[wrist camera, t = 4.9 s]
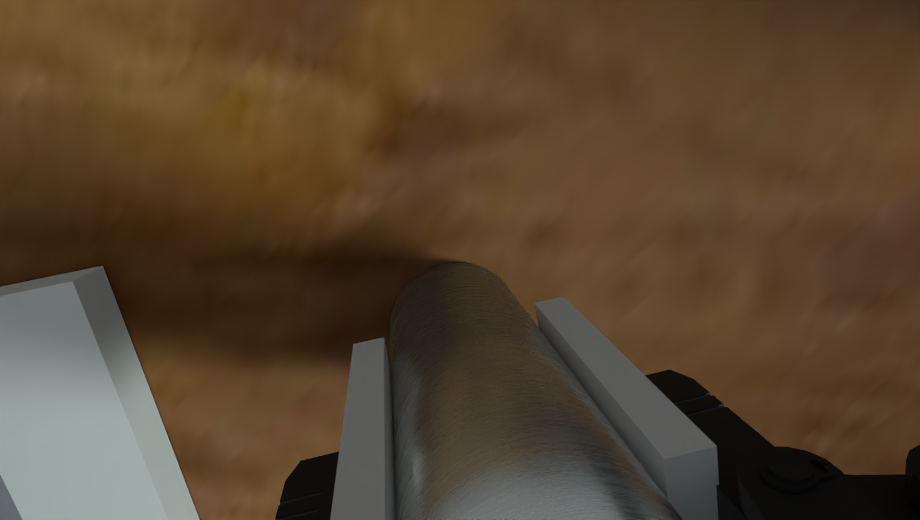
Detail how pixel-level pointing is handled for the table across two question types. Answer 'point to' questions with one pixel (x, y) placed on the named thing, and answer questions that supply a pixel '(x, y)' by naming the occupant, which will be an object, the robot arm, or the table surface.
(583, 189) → the table surface
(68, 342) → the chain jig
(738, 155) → the table surface
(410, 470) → the pin
